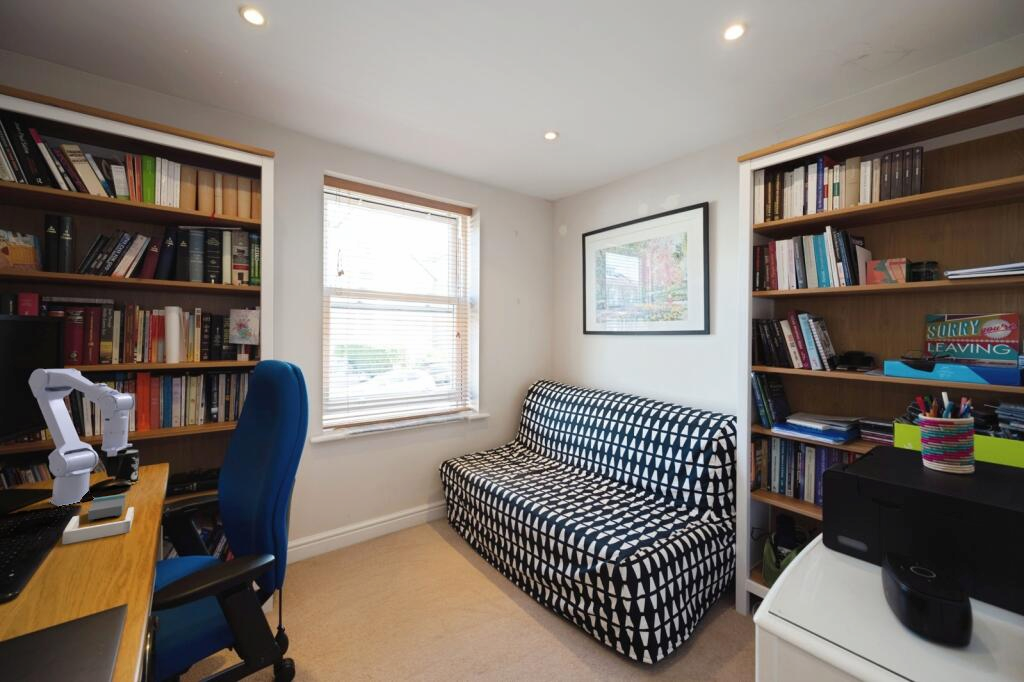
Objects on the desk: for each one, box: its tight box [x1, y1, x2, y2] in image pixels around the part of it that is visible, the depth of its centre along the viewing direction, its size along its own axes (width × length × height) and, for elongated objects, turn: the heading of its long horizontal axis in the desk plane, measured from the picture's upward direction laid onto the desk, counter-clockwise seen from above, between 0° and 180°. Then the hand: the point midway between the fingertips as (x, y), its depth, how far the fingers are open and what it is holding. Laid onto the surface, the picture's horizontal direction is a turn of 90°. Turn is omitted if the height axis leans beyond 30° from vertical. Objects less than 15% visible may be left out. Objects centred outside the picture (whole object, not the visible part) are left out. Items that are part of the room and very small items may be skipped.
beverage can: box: [113, 449, 140, 483], centre depth 149 cm, size 7×7×12 cm
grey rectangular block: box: [87, 493, 127, 522], centre depth 122 cm, size 10×7×4 cm
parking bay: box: [61, 506, 135, 546], centre depth 111 cm, size 13×12×3 cm
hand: (113, 474), depth 130 cm, fingers open, 4 cm apart
